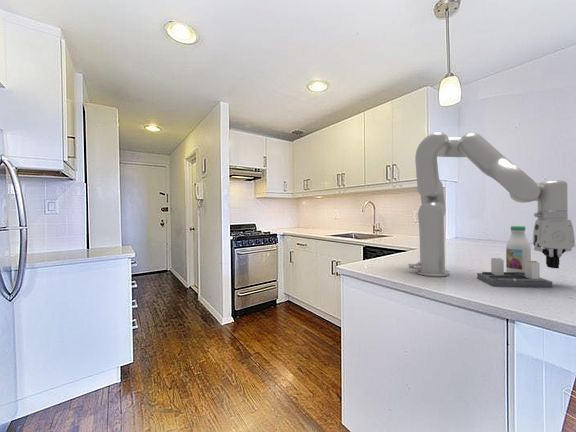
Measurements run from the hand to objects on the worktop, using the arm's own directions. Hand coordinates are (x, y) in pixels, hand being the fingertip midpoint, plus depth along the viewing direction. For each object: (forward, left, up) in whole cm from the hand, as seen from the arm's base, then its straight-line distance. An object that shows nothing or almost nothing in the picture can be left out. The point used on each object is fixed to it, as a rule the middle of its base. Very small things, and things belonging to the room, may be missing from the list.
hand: (552, 267), depth 95 cm
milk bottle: (-2, +15, -6) cm, 16 cm away
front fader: (-6, 0, -4) cm, 7 cm away
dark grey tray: (-11, +3, -6) cm, 13 cm away
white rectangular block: (-15, +5, -4) cm, 16 cm away
